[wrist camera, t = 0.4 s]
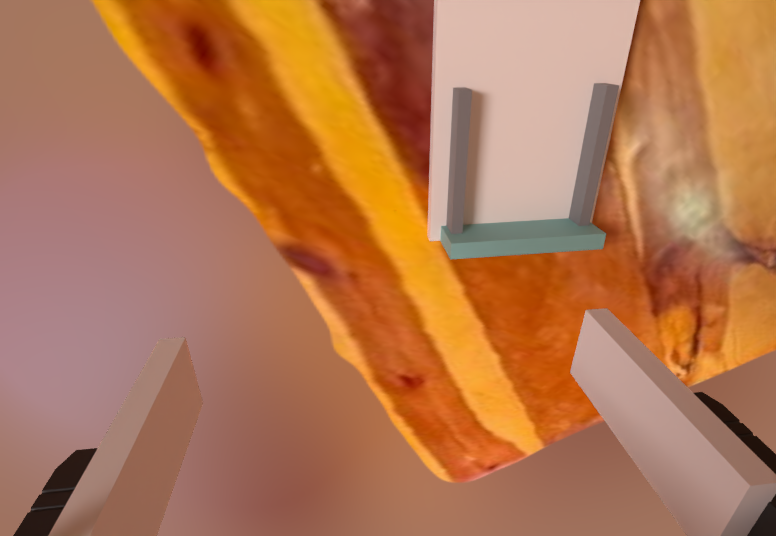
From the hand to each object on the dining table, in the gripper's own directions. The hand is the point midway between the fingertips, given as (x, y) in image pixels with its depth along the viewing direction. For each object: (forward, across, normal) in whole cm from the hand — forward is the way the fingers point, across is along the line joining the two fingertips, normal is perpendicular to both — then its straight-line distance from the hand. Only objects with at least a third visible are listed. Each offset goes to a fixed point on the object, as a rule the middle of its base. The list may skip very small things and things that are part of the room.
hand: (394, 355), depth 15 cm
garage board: (+27, +15, +4) cm, 31 cm away
